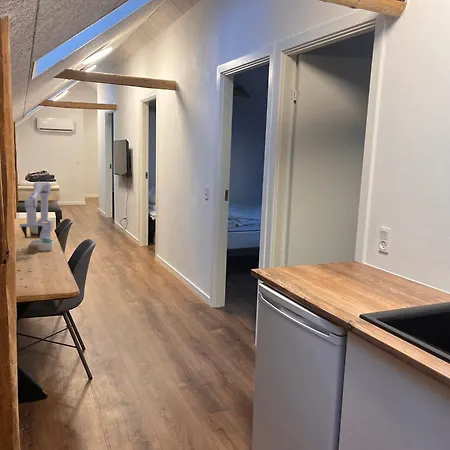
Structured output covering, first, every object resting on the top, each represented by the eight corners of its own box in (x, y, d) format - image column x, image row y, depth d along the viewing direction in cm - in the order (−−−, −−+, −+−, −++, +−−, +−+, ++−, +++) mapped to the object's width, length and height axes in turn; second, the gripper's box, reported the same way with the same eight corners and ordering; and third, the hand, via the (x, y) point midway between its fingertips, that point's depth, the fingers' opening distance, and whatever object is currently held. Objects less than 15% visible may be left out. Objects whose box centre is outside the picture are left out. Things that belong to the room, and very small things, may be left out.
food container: (47, 235, 349) (47, 222, 347) (43, 236, 343) (43, 224, 341) (32, 234, 350) (32, 222, 348) (28, 236, 344) (28, 223, 342)
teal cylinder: (51, 247, 305) (50, 237, 303) (50, 248, 300) (50, 238, 299) (43, 247, 303) (42, 237, 302) (42, 249, 298) (42, 238, 297)
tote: (32, 247, 305) (32, 240, 304) (54, 246, 308) (54, 239, 307) (29, 251, 294) (29, 243, 293) (52, 250, 297) (51, 243, 296)
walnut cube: (29, 251, 292) (29, 244, 292) (38, 251, 294) (37, 244, 293) (28, 253, 288) (28, 246, 287) (36, 253, 289) (36, 245, 288)
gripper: (18, 218, 281) (19, 239, 283) (42, 217, 285) (43, 238, 287) (20, 216, 288) (21, 237, 290) (44, 216, 292) (45, 236, 294)
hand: (32, 238), depth 289 cm, fingers open, 7 cm apart
